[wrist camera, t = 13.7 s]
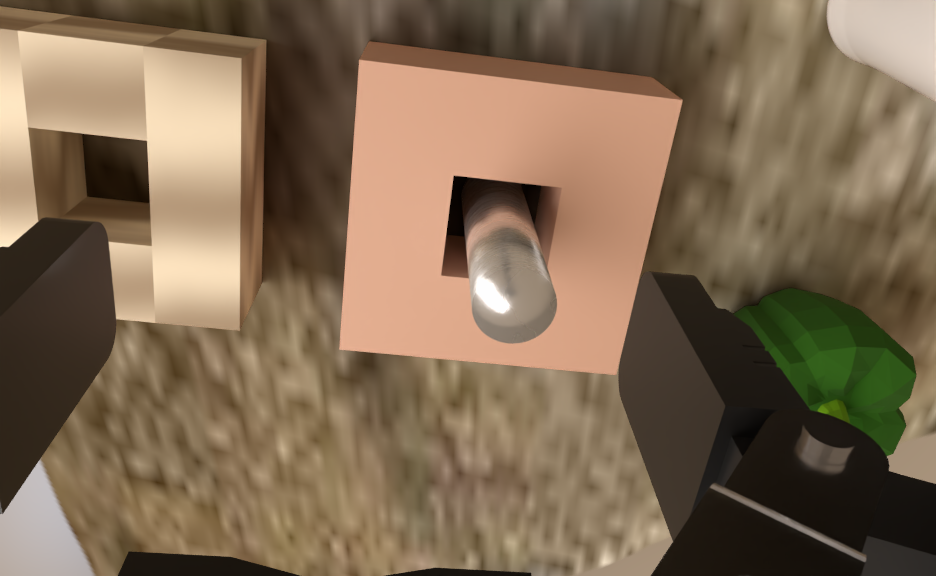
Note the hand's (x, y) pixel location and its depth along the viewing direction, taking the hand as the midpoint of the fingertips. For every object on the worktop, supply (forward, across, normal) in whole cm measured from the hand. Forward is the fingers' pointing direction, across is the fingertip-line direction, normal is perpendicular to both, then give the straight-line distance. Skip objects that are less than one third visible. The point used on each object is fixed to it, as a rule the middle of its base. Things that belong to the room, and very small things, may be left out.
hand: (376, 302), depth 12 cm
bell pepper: (+25, -20, +14) cm, 35 cm away
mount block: (+26, +12, +7) cm, 29 cm away
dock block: (+26, -4, +7) cm, 27 cm away
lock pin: (+26, -4, +8) cm, 27 cm away
